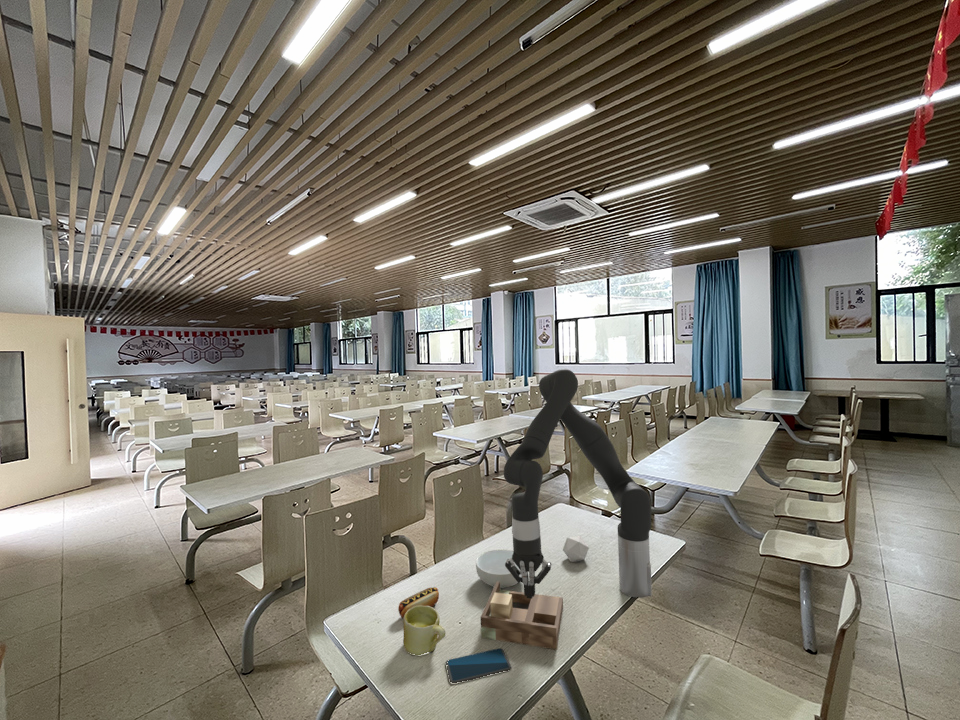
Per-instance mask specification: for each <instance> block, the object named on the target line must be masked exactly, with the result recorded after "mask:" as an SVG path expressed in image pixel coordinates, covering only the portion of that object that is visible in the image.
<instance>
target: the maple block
mask: <svg viewBox="0 0 960 720" xmlns="http://www.w3.org/2000/svg"><path fill="white" fill-rule="evenodd" d="M490 605H491V616H492V617H499V618H506V619H511V616H512V613H513V606H512V594H504V593H494V595H493V598H492V600H491V602H490Z"/></svg>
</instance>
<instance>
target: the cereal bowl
mask: <svg viewBox="0 0 960 720" xmlns="http://www.w3.org/2000/svg"><path fill="white" fill-rule="evenodd" d="M512 555H513V550H511V549H504V548H503V549H491V550H487V551H485V552H483V553H482V552H481V554H480V555H479V556H478V557H477V558H476V560H475V569H476V574H477V576H478V577H479V579H480V580H481V581H482V582H483V583H484V584H485V585H486V584H487V585H488V586H491V587H494V586H495V584H496V582H497V581H498V582H500V589H502V588H509V587H512V586H515V585H516V584H518V583H519V582H517V581H516V579H515V578H514V577H513V576H512V574H511V573H510V572H509V570H508V569H507V568H506V567H505V563H506V561H507V559H510V558H512ZM514 563H515V562H514ZM515 566H516V567H517V569H518V570H519V571H520V573H521V570H520V569H519V568H518V566H517V565H516V564H515Z"/></svg>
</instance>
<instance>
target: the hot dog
mask: <svg viewBox="0 0 960 720" xmlns="http://www.w3.org/2000/svg"><path fill="white" fill-rule="evenodd" d="M439 598H440V592H439V589H438V588H437V587H435V586H434V587H427V588H425V589H422V590H420V591H419V592H417V593H415V594H412V595H410V596H408V597H407V598H405V599H404V600H401V601H400V602H399V603H398V608H397V610H398V614H399V616H400V617H401V618H402V619H404V615H405V613H406V612H407V610H409V609H410V608H413V607H415V606H420V605H421V606H430V607H434V606H435V605H436V604H437V602H438V601H439Z"/></svg>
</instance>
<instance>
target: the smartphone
mask: <svg viewBox="0 0 960 720" xmlns="http://www.w3.org/2000/svg"><path fill="white" fill-rule="evenodd" d="M448 660H449V661H448ZM447 662H448V663H447ZM445 663H446V665H448V666H447V670H448V674H447V676H448V675H449V678H448V680H449V679H450V682H452V683H457V682H462V681H467V680H468V681H467V682H470V681H469V680H471V681H474V680H473V679H475V680H477V679H476V678H479V679H481V678H480V677H483V676H487V675H490V674H495V673H499V672H503V671H507V672H509V671H508V670H510V671H511V670H512V665H511V663H510V660H509V658H508V655H507V654H506V652H505V649H503V648H501V647H500V648H499V647H498V648H494V649H490V650H485V651H482V652H481V651H480V652H477V653H472V654H469V655H463V656H459V657H454V658H450V659H447V660H446V661H445ZM447 670H446V671H447ZM503 673H504V672H503ZM499 674H500V673H499ZM495 675H496V674H495ZM487 677H488V676H487ZM483 678H484V677H483ZM450 682H449V683H450Z"/></svg>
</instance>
